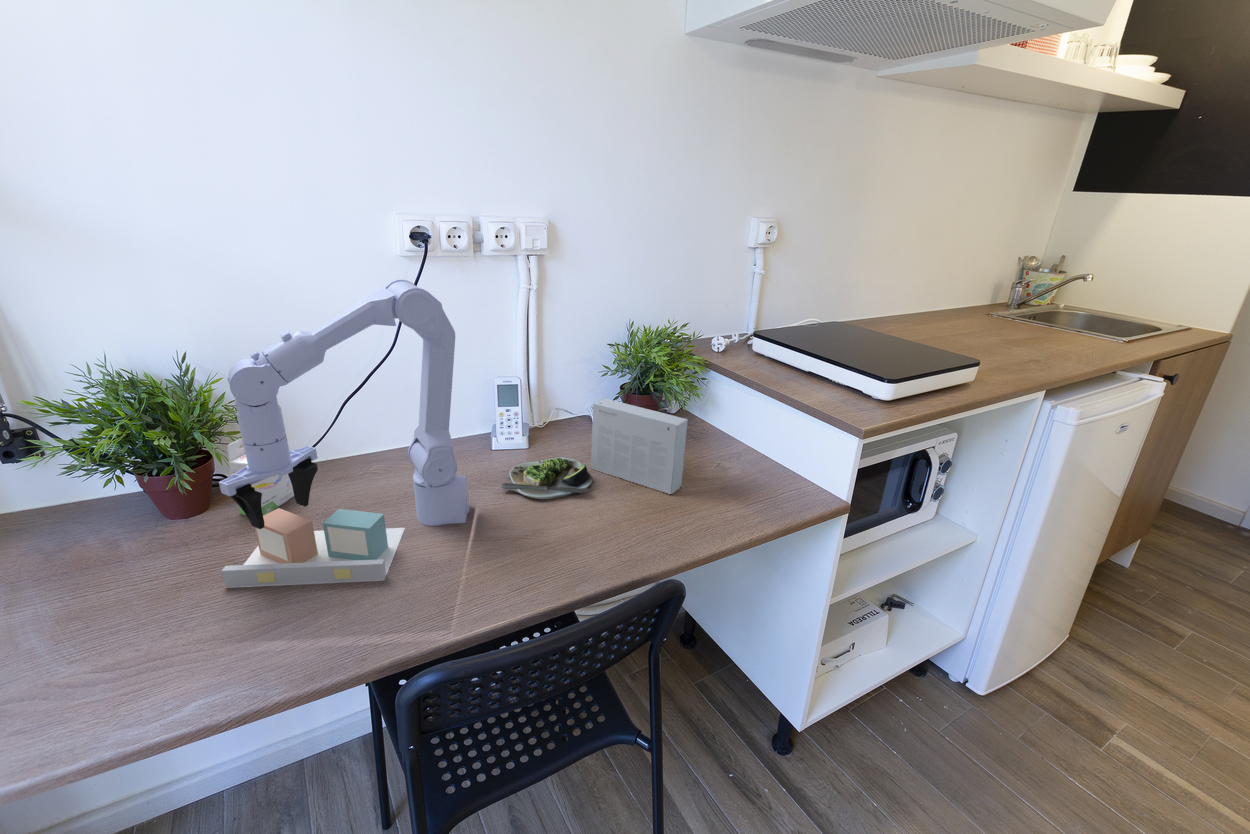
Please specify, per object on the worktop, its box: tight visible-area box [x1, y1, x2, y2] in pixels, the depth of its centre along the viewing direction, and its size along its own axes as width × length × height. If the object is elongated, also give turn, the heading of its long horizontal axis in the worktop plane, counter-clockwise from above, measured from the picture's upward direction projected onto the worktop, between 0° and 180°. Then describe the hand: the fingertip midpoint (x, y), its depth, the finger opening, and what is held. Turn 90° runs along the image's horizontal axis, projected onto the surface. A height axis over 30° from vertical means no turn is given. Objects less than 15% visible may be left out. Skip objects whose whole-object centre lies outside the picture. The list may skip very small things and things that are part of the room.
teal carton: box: [322, 508, 388, 560], centre depth 97 cm, size 5×8×6 cm, turn 82°
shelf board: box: [221, 527, 406, 589], centre depth 96 cm, size 23×15×4 cm, turn 98°
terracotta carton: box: [253, 507, 318, 564], centre depth 95 cm, size 5×8×6 cm, turn 64°
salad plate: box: [500, 456, 594, 500], centre depth 124 cm, size 19×18×5 cm
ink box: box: [226, 437, 294, 516], centre depth 108 cm, size 9×5×15 cm, turn 168°
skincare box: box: [590, 398, 689, 495], centre depth 126 cm, size 21×5×16 cm, turn 58°
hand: (281, 515), depth 94 cm, fingers open, 7 cm apart
